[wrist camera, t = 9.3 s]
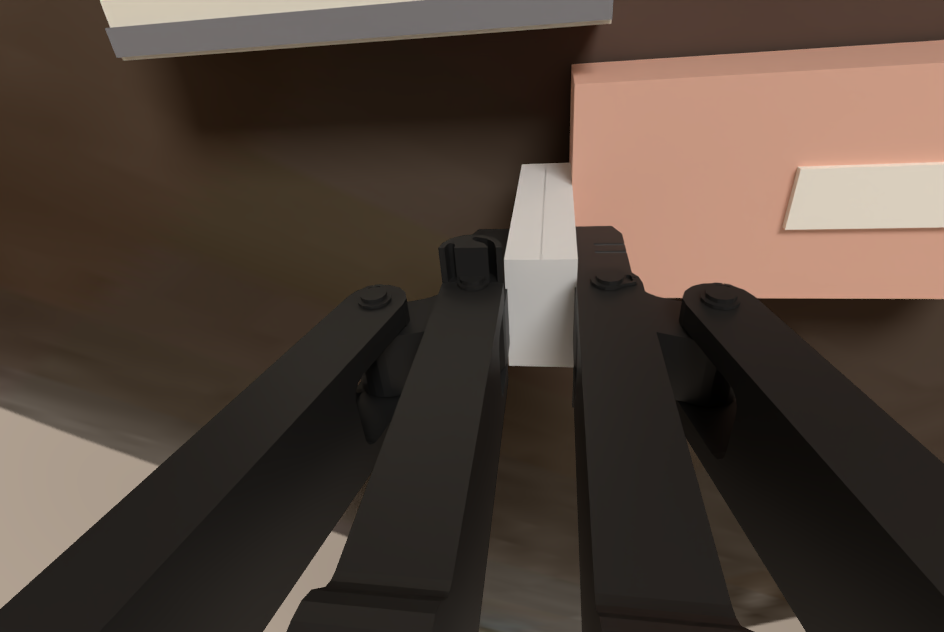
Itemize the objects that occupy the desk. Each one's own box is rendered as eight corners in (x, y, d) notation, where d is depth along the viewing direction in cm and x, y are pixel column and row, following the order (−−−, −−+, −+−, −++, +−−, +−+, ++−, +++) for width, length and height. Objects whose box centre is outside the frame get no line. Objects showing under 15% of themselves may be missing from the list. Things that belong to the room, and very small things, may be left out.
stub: (567, 247, 19) (569, 301, 16) (571, 64, 16) (574, 85, 12) (979, 243, 17) (1074, 303, 14) (1081, 31, 14) (1236, 46, 10)
